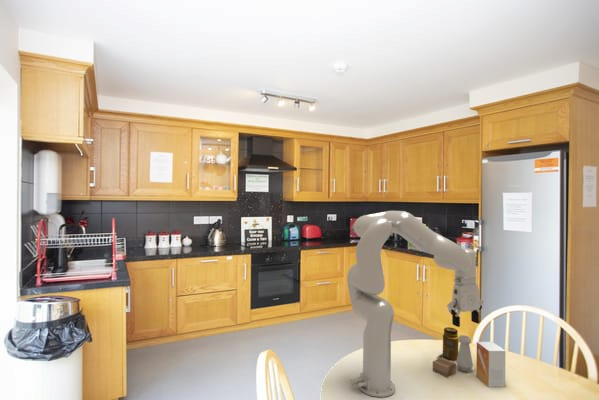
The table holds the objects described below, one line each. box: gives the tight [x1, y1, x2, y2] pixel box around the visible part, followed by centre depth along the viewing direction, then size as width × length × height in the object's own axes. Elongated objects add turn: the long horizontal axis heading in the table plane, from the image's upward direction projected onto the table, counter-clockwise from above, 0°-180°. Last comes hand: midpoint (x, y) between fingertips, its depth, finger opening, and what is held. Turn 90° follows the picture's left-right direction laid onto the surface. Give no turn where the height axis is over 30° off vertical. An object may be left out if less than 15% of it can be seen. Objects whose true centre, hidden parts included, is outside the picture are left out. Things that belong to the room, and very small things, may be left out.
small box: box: [475, 341, 506, 388], centre depth 126 cm, size 8×6×13 cm
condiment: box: [436, 326, 459, 364], centre depth 145 cm, size 7×8×12 cm
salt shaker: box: [456, 334, 474, 373], centre depth 135 cm, size 6×6×13 cm
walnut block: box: [432, 358, 457, 378], centre depth 133 cm, size 6×6×4 cm
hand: (465, 324), depth 135 cm, fingers open, 9 cm apart
